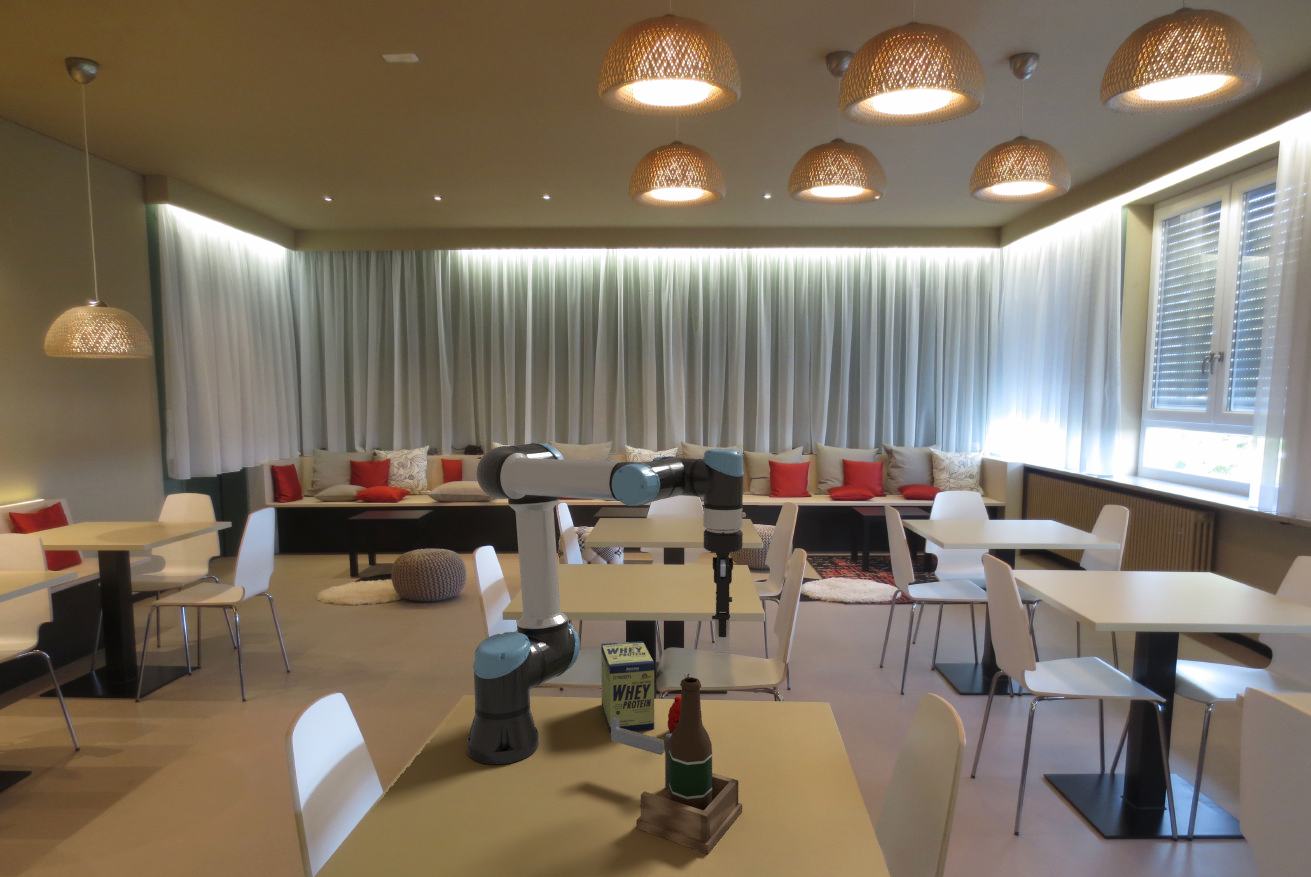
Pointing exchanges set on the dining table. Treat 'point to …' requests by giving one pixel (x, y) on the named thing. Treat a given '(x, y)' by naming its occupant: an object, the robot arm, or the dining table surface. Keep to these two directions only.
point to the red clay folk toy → (675, 713)
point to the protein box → (628, 685)
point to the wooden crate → (691, 813)
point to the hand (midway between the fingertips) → (722, 643)
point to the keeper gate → (635, 738)
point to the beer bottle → (690, 752)
